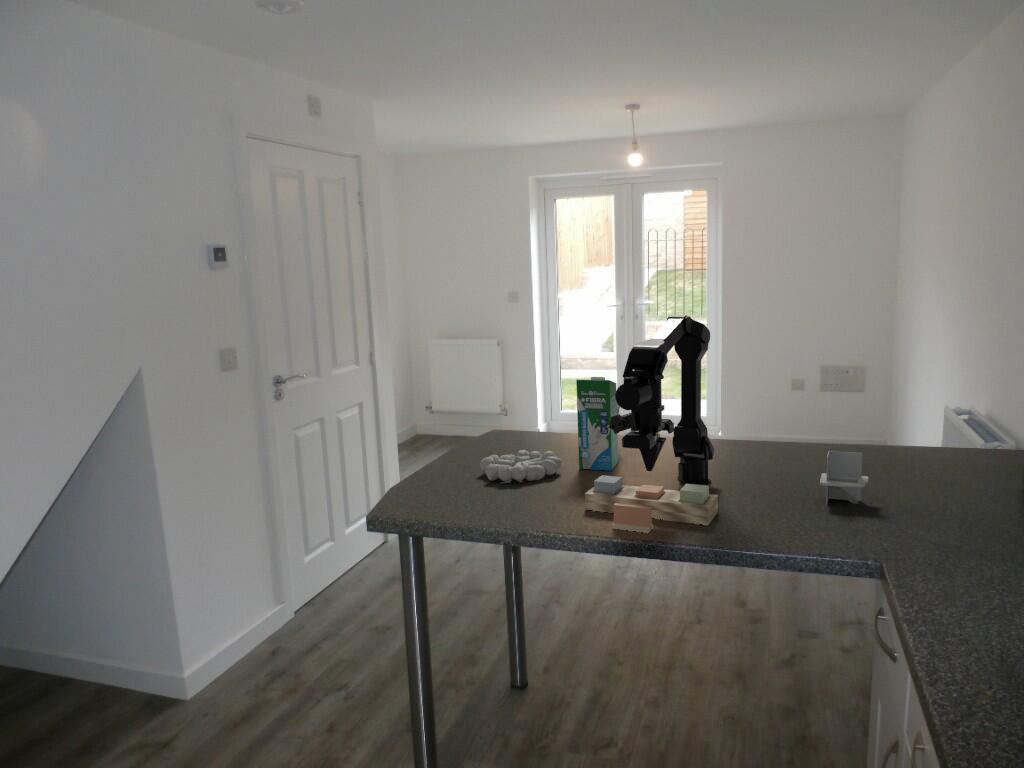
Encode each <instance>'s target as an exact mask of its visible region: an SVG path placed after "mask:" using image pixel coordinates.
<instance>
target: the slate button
mask: <svg viewBox="0 0 1024 768" xmlns="http://www.w3.org/2000/svg"><path fill="white" fill-rule="evenodd" d="M622 485H623V477H622V476H613V475H602V474H601V476H599V477H598V478H596V479H594V481H593V487H594V492H597V493H606V494H615V495H616V494H617V493H618V492H620V491H621V490H622Z"/></svg>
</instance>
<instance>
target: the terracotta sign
mask: <svg viewBox="0 0 1024 768" xmlns="http://www.w3.org/2000/svg"><path fill="white" fill-rule="evenodd" d="M613 511H614V514H613V523H612V524H611V525H612V530H618V529H619V530H621V531H626V530H628V531H627V532H633V531H636V532H635V533H641V532H643V534H648V533H649V532H650V531H651V530H652V529H653V530H654V524H653V519H652V507H644V506H636V505H627V504H618V503H615V504H614V505H613ZM653 530H652V531H653ZM652 531H651V532H652ZM651 532H650V533H651ZM650 533H649V534H650Z"/></svg>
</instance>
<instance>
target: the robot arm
mask: <svg viewBox="0 0 1024 768" xmlns="http://www.w3.org/2000/svg"><path fill="white" fill-rule="evenodd" d="M710 341H711V331H710V329H709V328H708V327H707V326H706V325H705V324H704V323H702V322H699V321H697V320H695V319H693V318H692V317H691V316H689V315H686V314H684V315H683V314H682V315H681V314H674V315H669V316H668V317H666V321H665V323H664V324H663V325H662V326H661V327H660V328H659V329H658V330H657V331H656V333H654V334H653V335H652V337H650V338H649V339H647V340H643V341H640V342H638V343H636V344H635V345H633V346H632V348H631V349H630V351H629V353H628V357H627V360H626V362H625V363H626V364H625V367H624V369H623V373H622V377H623V383H622V384H621V385H619V386H618V387H617V388H616V393H615V398H616V402H617V404H618V405H619V406H620V409H623V410H625V411H630V412H629V413H626V414H622V415H621V414H620V413H619V414H618V415H615V416H612V417H611V421H609V423H610V425H609V428H610V429H612V430H613V431H614V434H617V435H618V434H619V433H621V432H623V431H627V430H630V431H629V432H628V433H626V434H625V435H624V436H623V437H621V446H622V448H623V449H624V448H625V449H626V448H627V449H635V450H637V449H638V450H639V452H640V454H641V457H642V460H643V465H644V466H645V470H646V471H647V472H652V471H653V470H654V468H655V465H656V462H657V460H658V458H659V456H660V453H661V451H662V449H663V447H664V445H665V442H666V441H667V437H662V436H661V434H659V433H660V432H662V431H663V432H664V431H667V434H669V435H670V434H672V433H673V435H672V448H673V454H674V458H679V462H678V464H677V465H678V466H677V467H678V471H677V472H678V476H677V479H678V480H679V481H681V482H682V483H684V485H685V484H695V485H703V484H710V483H712V480H711V479H709V461H711V460H713V459H714V454H715V447H714V446H713V443H712V441H711V439H710V437H709V436H708V434H709V433H708V431H709V430H708V427H707V426H706V424H705V421H703V420H702V360H703V358H704V357H705V355H706V354H707V352H708V349H709V343H710ZM673 347H674V348H673ZM672 349H674V352H675V353H676V355H677V357H678V358H679V360H680V365H681V366H680V367H681V368H680V370H681V373H680V374H681V375H680V376H681V377H680V379H681V380H680V383H681V385H680V386H681V387H680V388H681V389H680V390H681V391H680V393H681V394H680V398H681V400H680V409H681V410H680V420H679V422H678V423H677V425H676V426H675V423H674V422H673V421H672V420H671V419H669V418H663V415H662V412H663V411H665V404H663V403H662V399H663V398H662V395H663V394H662V380H663V379H664V378H665V376H664V375H663V373H664V371H665V368H666V366H667V363H668V362H669V358H668V354H669V352H670V351H671V350H672Z"/></svg>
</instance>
